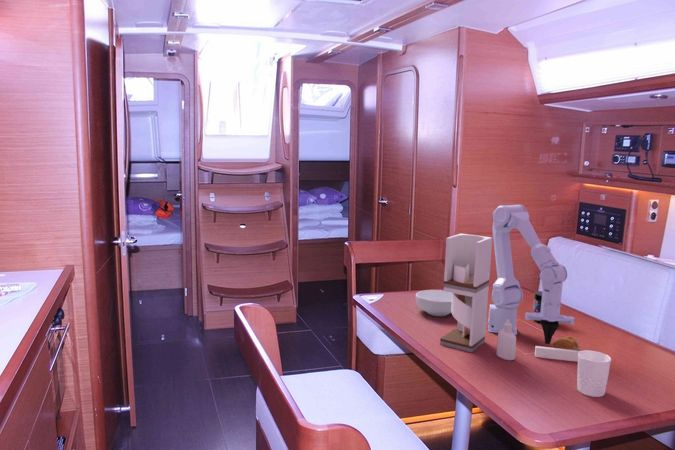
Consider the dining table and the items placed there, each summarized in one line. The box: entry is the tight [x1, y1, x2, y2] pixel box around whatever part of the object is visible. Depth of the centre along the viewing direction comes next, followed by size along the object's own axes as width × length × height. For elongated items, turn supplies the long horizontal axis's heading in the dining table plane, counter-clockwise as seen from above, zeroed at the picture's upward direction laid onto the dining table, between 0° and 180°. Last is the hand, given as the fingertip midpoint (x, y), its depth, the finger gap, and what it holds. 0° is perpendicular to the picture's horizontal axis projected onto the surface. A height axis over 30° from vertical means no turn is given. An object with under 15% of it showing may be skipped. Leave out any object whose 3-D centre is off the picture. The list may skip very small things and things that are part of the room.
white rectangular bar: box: [534, 345, 581, 363], centre depth 166 cm, size 14×2×3 cm, turn 76°
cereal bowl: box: [415, 289, 452, 317], centre depth 207 cm, size 17×17×7 cm
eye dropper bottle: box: [496, 320, 517, 361], centre depth 165 cm, size 4×6×12 cm
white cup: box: [576, 349, 612, 398], centre depth 144 cm, size 8×8×10 cm
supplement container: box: [532, 290, 549, 324], centre depth 200 cm, size 7×7×10 cm
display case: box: [439, 233, 493, 353], centre depth 174 cm, size 11×11×35 cm
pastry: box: [551, 336, 580, 351], centre depth 173 cm, size 9×7×4 cm
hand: (547, 342), depth 175 cm, fingers closed
